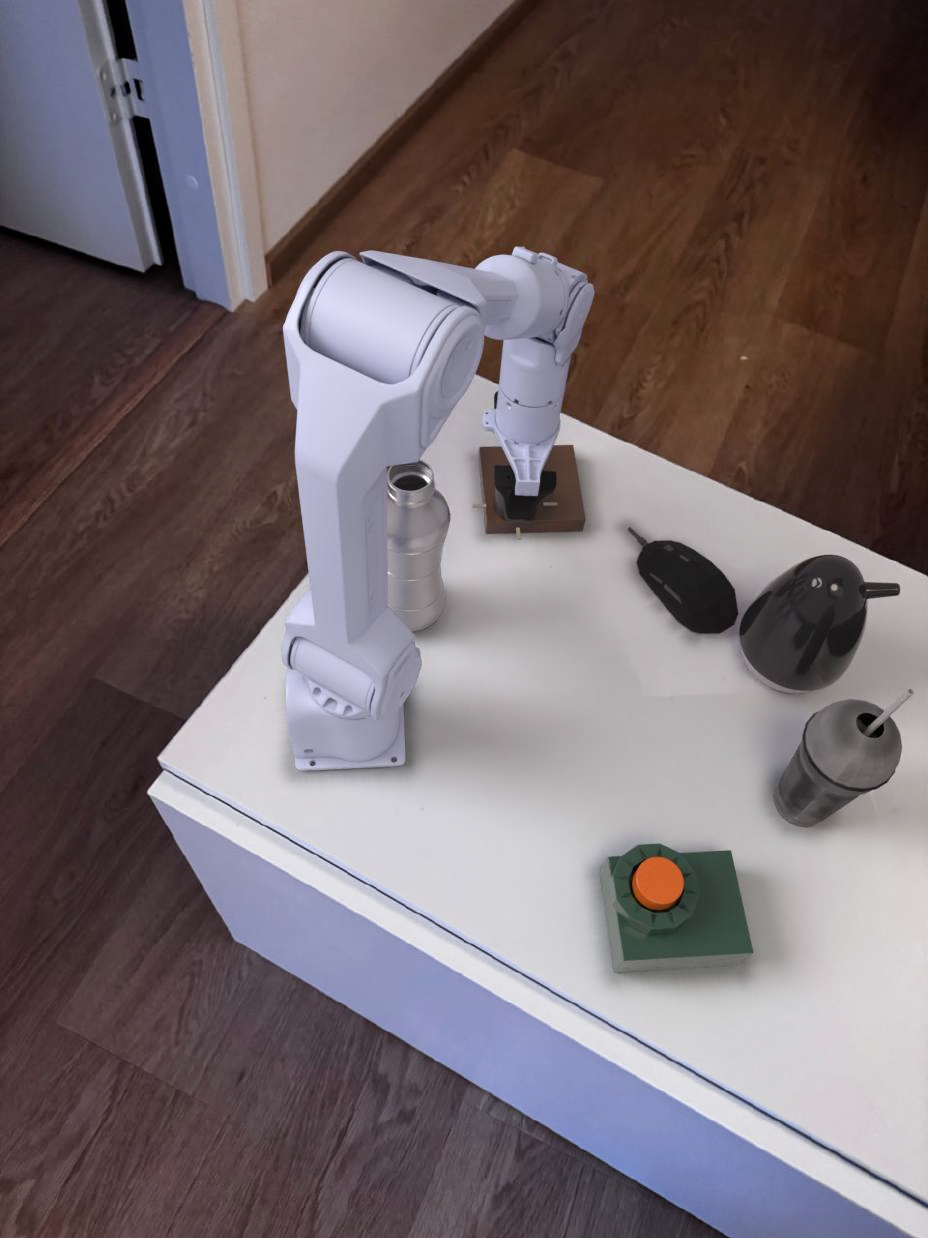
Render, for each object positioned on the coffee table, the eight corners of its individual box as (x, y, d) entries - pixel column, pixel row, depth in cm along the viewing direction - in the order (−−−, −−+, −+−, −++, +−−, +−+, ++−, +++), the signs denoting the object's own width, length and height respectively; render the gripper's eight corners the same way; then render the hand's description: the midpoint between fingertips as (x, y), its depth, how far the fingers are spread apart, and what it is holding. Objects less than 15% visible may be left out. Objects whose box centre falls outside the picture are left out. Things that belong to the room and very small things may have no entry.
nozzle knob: (537, 523, 97) (541, 498, 93) (493, 521, 97) (496, 496, 93) (536, 489, 99) (540, 463, 96) (493, 487, 99) (495, 461, 96)
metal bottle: (367, 592, 94) (357, 453, 77) (434, 577, 95) (439, 436, 78) (384, 647, 91) (378, 515, 74) (453, 631, 92) (463, 496, 75)
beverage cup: (742, 778, 85) (824, 668, 68) (813, 753, 87) (910, 638, 70) (784, 854, 82) (882, 758, 65) (857, 826, 83) (971, 725, 66)
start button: (635, 911, 73) (640, 905, 72) (628, 865, 75) (632, 857, 74) (682, 909, 73) (688, 902, 72) (674, 862, 75) (679, 855, 74)
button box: (610, 973, 76) (624, 955, 71) (595, 870, 80) (608, 846, 75) (738, 965, 77) (761, 947, 72) (716, 863, 81) (736, 839, 76)
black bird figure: (838, 719, 89) (910, 633, 76) (724, 697, 90) (777, 608, 77) (837, 627, 94) (904, 532, 81) (730, 606, 95) (780, 509, 82)
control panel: (474, 552, 97) (475, 540, 95) (465, 459, 103) (466, 445, 102) (586, 549, 98) (589, 536, 96) (570, 457, 104) (573, 443, 102)
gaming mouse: (652, 516, 100) (660, 492, 97) (748, 619, 94) (761, 597, 91) (604, 542, 98) (611, 518, 95) (699, 649, 92) (710, 627, 89)
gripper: (486, 324, 88) (477, 429, 99) (485, 445, 80) (476, 543, 91) (564, 327, 88) (546, 432, 99) (571, 448, 80) (551, 546, 92)
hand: (517, 485), depth 95 cm, fingers open, 7 cm apart
